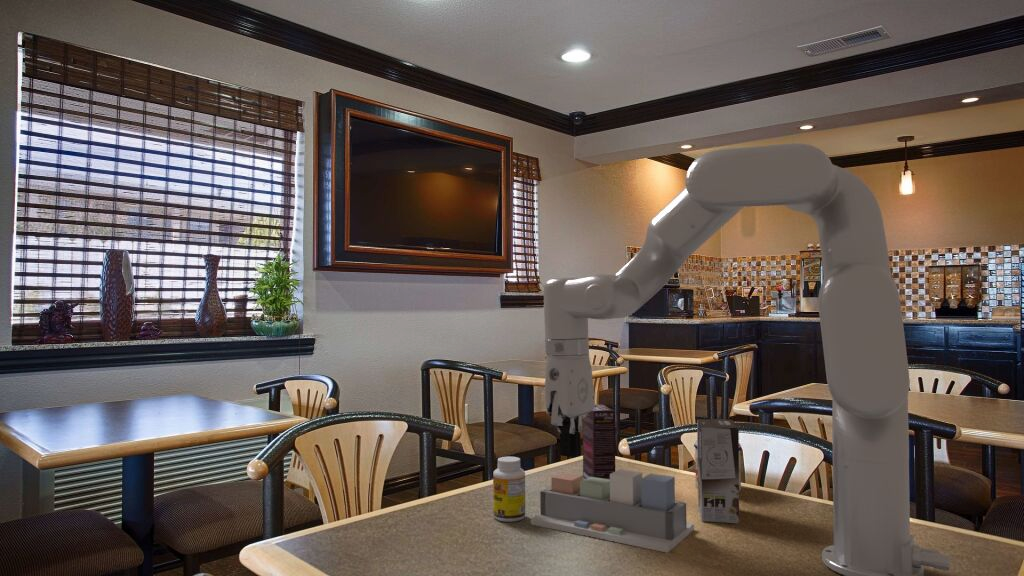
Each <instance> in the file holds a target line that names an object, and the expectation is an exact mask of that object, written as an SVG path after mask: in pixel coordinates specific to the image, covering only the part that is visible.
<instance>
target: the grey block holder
mask: <svg viewBox="0 0 1024 576" xmlns="http://www.w3.org/2000/svg"><path fill="white" fill-rule="evenodd" d="M539 493H540V494H539V495H540V496H539V497H540V503H539V505H540V512H539V514H537V515H535V516H533V517H531V518H530V525H532V526H536V527H542V528H546V529H551V530H555V531H561V532H565V533H571V534H574V533H575V534H576V535H579V534H580V536H584V535H585V537H589V536H591V537H590V538H594V537H595V539H599V538H601V539H600V540H603V539H605V540H604V541H608V542H609V541H610V542H613V541H614V543H619V544H623V545H624V544H625V545H628V546H633V547H637V548H642V549H647V550H652V551H657V552H661V553H666V554H668V553H670V551H672V550H673V549H674V548H675V547H676V546H678V545H679V544H680V543H681V542H682V541H683V540H684V539H686V538H687V537H688V536H689V535H690V534H691V533H692V532H693V531H695V523H691V522H687V502H684V501H679V500H678V501H677V500H675V506H674V507H673V508H671V509H670V510H669V511H663V510H657V509H651V508H645V507H642V501H641V502H639V503H637V504H636V505H628V504H622V503H616V502H611V501H610V496H609V497H607V498H606V499H604V500H599V499H593V498H588V497H582V496H580V492H578V493H576V494H574V495H570V494H564V493H559V492H553V491H552V485H550V486H548V487H546V488H545V489H542V490H540V491H539Z"/></svg>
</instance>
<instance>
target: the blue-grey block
mask: <svg viewBox="0 0 1024 576" xmlns="http://www.w3.org/2000/svg"><path fill="white" fill-rule="evenodd" d="M675 479H676V478H675V476H672V475H665V474H657V473H649V474H647V475H645V476H644V477H642V479H641V486H642V507H645V508H651V509H657V510H663V511H669V510H670V509H671V508H673V507H674V506H675V501H676V499H675V497H676V495H675V494H676V489H675V483H676V481H675Z"/></svg>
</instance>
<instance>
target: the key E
mask: <svg viewBox="0 0 1024 576" xmlns="http://www.w3.org/2000/svg"><path fill="white" fill-rule="evenodd" d="M580 496H582V497H588V498H593V499H599V500H604V499H606V498H607V497H609V496H610V480H609V479H603V478H596V477H589V478H587V479H585V480H583V481H581V482H580Z"/></svg>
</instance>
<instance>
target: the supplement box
mask: <svg viewBox="0 0 1024 576" xmlns="http://www.w3.org/2000/svg"><path fill="white" fill-rule="evenodd" d="M615 471H616V410H614V409H612V408H610V407H609V406H606V405H604V404H595V407H594V409H593V410H592V411H591V412H590V413H587V415H586V417H585V418H584V419H582V475H583V480H585V479H587V478H589V477H596V478H603V479H609V480H610V474H611V473H613V472H615Z"/></svg>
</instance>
